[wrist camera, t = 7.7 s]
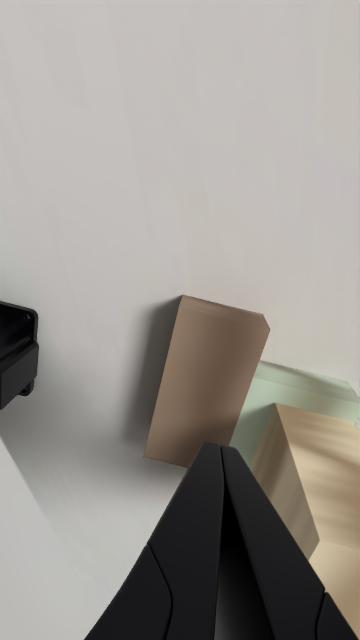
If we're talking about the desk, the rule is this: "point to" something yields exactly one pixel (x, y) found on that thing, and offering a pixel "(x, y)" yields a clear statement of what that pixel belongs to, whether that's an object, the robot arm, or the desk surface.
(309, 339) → the desk surface
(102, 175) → the desk surface
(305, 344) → the desk surface
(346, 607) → the beech block
